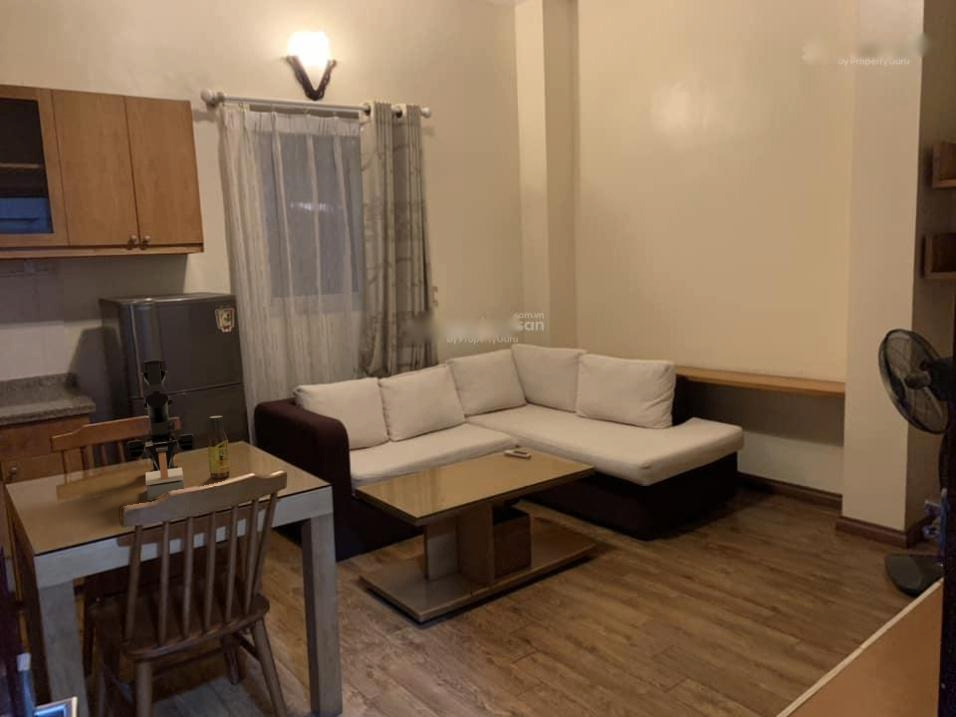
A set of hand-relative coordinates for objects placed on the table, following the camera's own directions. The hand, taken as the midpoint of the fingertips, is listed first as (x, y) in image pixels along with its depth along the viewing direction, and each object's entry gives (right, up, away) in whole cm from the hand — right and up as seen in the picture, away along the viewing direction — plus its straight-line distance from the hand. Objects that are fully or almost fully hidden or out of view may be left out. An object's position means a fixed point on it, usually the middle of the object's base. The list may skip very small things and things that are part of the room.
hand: (163, 469), depth 215 cm
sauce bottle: (+10, -5, +19) cm, 22 cm away
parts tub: (-1, -8, +4) cm, 9 cm away
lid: (-2, -3, +5) cm, 6 cm away
